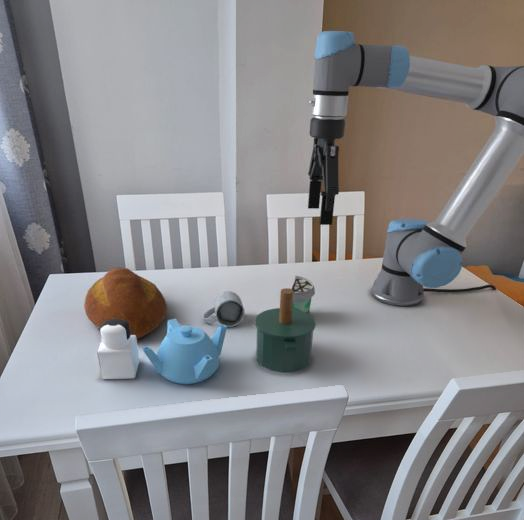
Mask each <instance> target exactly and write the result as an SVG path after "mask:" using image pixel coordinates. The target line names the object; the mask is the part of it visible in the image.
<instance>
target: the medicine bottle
mask: <svg viewBox="0 0 524 520" xmlns="http://www.w3.org/2000/svg"><path fill="white" fill-rule="evenodd" d="M99 332H100V339H101V342H100V344H99V347H98V348H97V349H98V350H97V358H98V363H99V364H98V365H99V369H100V370H99V371H100V376H101V379H102V380H122V379H123V380H124V379H125V380H126V379H128V380H129V379H136V377H137V372H138V368H139V364H140V356H139V347H138V342H137V341H138V338H137V339H136V335H131V334H130V327H129V323H128V322H127V321H125V320H123V319H110V320H107V321H105V322H103V323H102V324H101V325H100V328H99Z"/></svg>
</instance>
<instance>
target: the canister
mask: <svg viewBox="0 0 524 520" xmlns="http://www.w3.org/2000/svg"><path fill="white" fill-rule="evenodd" d="M313 337H314V331H313V332H312V333H310V334H309V335H306V336H304V337H300V338H294V339H281V338H275V337H271V336H268V335H266V334H264V333H262V332H260V331H259V330H258V329H257V328H256V347H255V348H256V349H255V350H256V351H255V353H256V354H255V357H256V362H257V364H258V365H259V366H261V367H263V368H265V369H267V370H269V371H273V372H278V373H295V372H299V371H302V370H303V369H305V368H306V367H307V366H309V365H310V362H311V360H312V350H313V349H312V348H313V339H314V338H313Z"/></svg>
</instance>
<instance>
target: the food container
mask: <svg viewBox="0 0 524 520" xmlns="http://www.w3.org/2000/svg"><path fill="white" fill-rule="evenodd" d="M291 289H292V290H293V291H294V292H293V307H292V309H296V310H300V311H303V312H305V313H307V314H309V315H310V310H311V305H312V304H311V303H312V297H314V296H315V294H316V290H315V285H314V282H313V281H311V279H309V278H307V277H304V276H299V275H295V276H294V282H293V284H292V286H291Z"/></svg>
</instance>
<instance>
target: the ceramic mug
mask: <svg viewBox="0 0 524 520" xmlns="http://www.w3.org/2000/svg"><path fill="white" fill-rule="evenodd" d="M245 313H246V311H245V307H244V304H243V301H242V299H241V297H240V296H239V295H238V294H237V293H236V292H235V291H231V290H225V291H223V292H221V293H219V294H218V295H217V297H216V299H215V302H214V306H213V307H212V308H210V309H208V310H207V311H205V313H204V314H203V317H202V318H203V321H204V322H205V323H206V324H212V323H216V322H217V323H219V325H220V326H221V325H225V326H227V328H232V327H236V326H238V325H240V324H241V323H242V322H243V320H244V318H245ZM212 315H214V316H212Z"/></svg>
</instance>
